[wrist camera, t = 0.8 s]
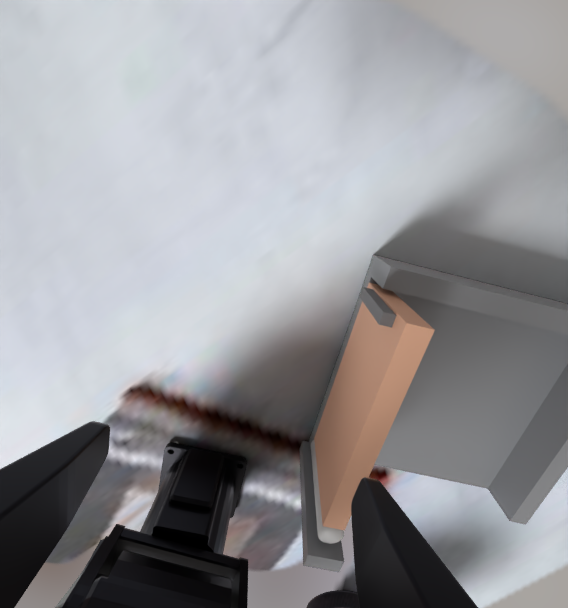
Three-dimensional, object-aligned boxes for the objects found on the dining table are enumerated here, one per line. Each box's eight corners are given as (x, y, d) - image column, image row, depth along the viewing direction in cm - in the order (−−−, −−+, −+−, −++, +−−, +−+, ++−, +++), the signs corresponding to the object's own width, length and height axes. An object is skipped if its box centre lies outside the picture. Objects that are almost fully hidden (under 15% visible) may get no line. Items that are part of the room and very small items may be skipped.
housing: (488, 489, 25) (574, 616, 17) (299, 449, 24) (303, 565, 16) (601, 312, 20) (796, 383, 12) (365, 252, 19) (416, 289, 11)
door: (326, 454, 22) (339, 545, 16) (301, 449, 22) (305, 539, 16) (389, 287, 18) (437, 330, 12) (359, 280, 18) (392, 319, 12)
